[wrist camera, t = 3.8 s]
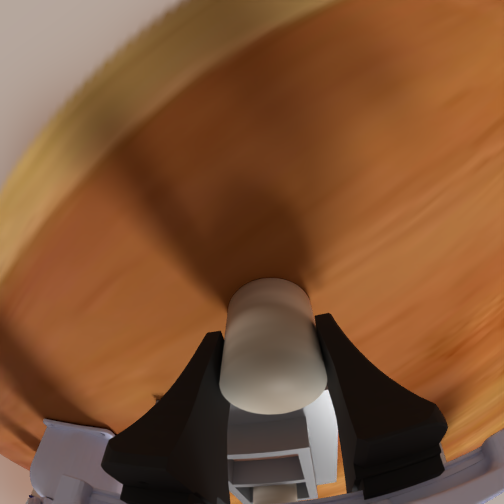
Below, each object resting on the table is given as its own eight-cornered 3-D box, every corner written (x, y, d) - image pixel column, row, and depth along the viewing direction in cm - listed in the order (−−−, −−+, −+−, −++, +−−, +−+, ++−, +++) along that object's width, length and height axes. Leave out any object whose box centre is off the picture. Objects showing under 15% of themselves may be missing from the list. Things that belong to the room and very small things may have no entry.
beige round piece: (258, 479, 24) (257, 516, 20) (249, 467, 23) (248, 508, 19) (297, 475, 24) (299, 513, 20) (293, 463, 22) (295, 505, 18)
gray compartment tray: (232, 488, 27) (230, 509, 25) (156, 400, 18) (147, 435, 16) (335, 478, 26) (338, 500, 23) (336, 381, 17) (344, 420, 14)
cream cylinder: (239, 347, 16) (234, 418, 12) (218, 286, 14) (205, 358, 10) (314, 335, 15) (328, 405, 11) (305, 270, 13) (324, 341, 9)
